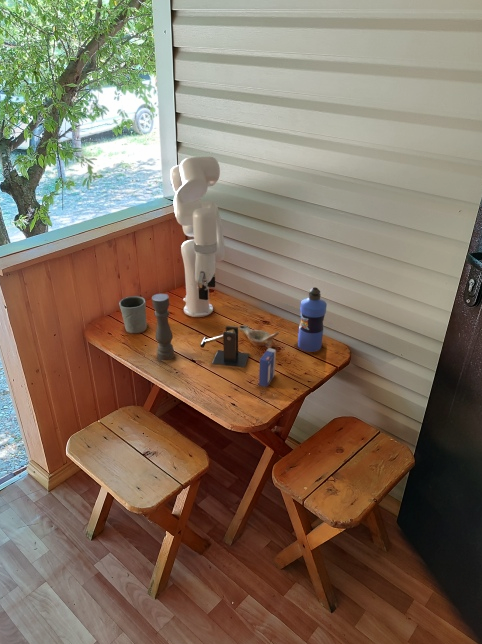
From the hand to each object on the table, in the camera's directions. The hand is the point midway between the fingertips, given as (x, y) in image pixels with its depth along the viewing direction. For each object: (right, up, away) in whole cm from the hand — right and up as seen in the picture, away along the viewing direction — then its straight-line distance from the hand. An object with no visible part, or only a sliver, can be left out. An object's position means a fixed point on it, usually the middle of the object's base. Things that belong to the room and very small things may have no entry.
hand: (207, 292), depth 168 cm
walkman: (+21, -31, -4) cm, 38 cm away
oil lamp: (+18, -17, +18) cm, 31 cm away
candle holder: (-16, -23, +8) cm, 29 cm away
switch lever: (+4, -17, +3) cm, 18 cm away
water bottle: (+38, -19, +15) cm, 45 cm away
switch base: (+8, -24, +7) cm, 26 cm away
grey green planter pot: (-31, -11, +26) cm, 42 cm away
